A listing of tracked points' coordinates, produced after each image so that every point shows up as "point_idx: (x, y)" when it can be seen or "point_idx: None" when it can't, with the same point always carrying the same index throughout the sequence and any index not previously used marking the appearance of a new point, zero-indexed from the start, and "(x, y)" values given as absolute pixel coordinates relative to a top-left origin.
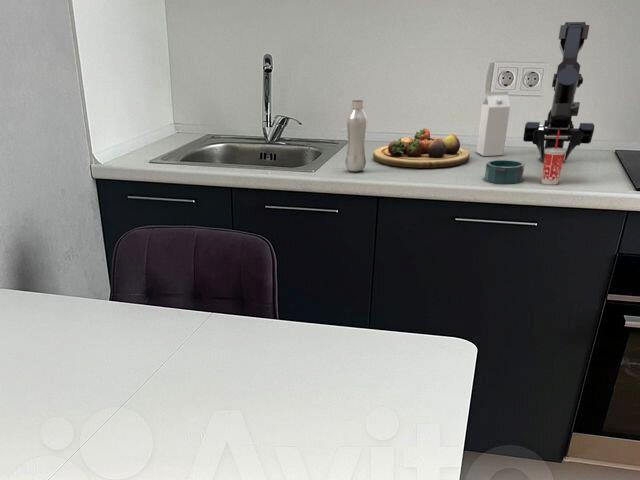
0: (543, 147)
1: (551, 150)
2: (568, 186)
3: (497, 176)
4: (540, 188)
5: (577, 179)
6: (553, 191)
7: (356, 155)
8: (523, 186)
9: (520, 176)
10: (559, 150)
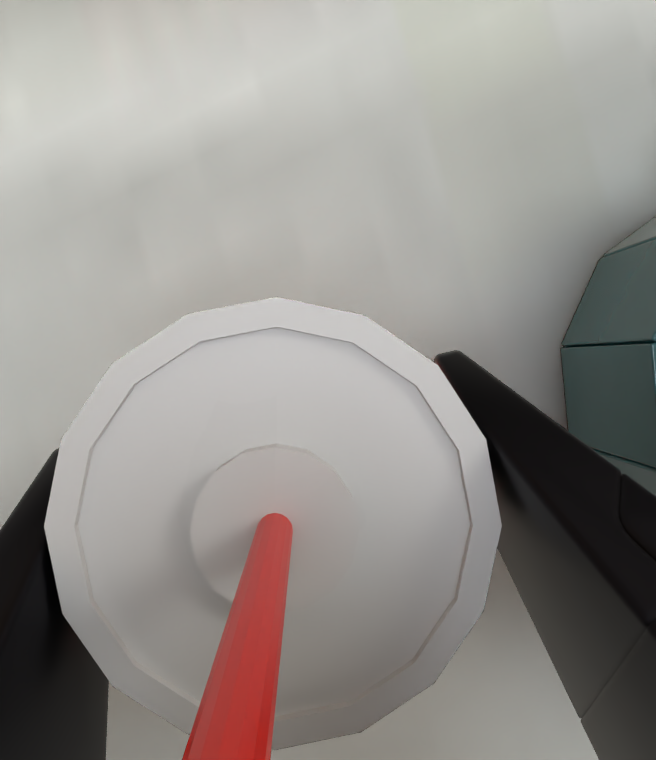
0: (529, 458)
1: (339, 452)
2: (87, 371)
3: None
4: (310, 165)
5: None
6: (162, 93)
7: None
8: (482, 178)
9: (592, 329)
10: (192, 524)
